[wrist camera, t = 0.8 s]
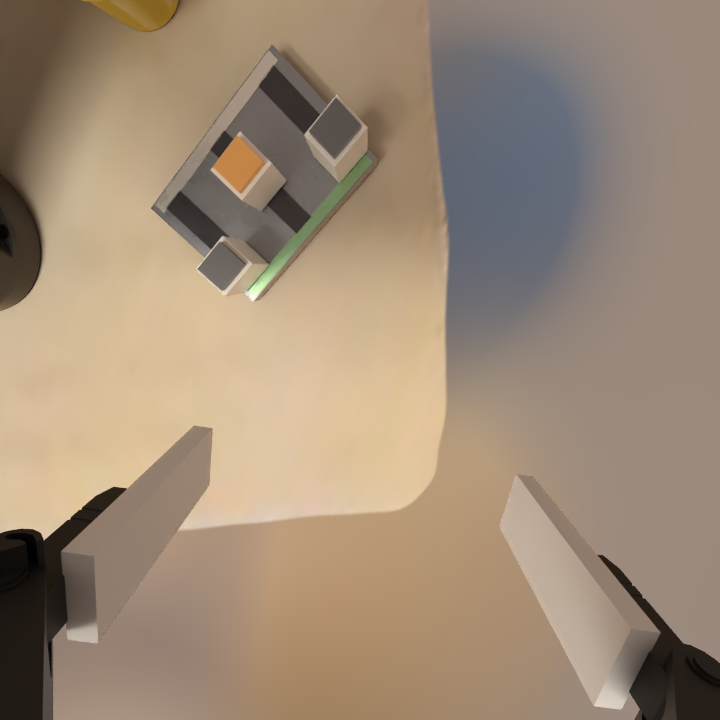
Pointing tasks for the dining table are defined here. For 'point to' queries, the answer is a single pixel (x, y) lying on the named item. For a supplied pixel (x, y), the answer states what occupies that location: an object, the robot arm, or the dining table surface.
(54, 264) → the dining table surface
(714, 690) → the robot arm
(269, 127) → the panel
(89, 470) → the dining table surface
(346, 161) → the breaker
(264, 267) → the block
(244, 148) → the block
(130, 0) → the plant pot
